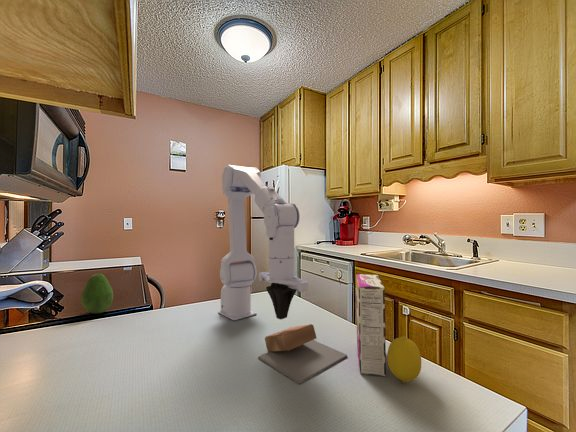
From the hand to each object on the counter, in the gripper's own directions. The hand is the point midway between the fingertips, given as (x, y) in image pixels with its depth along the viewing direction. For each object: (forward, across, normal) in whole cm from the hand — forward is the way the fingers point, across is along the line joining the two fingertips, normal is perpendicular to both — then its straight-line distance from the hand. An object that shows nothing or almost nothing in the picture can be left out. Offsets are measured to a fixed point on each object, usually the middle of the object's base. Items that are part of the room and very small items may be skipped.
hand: (281, 317), depth 62 cm
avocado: (+7, -54, -27) cm, 61 cm away
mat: (+6, +7, 0) cm, 9 cm away
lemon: (+7, +25, +7) cm, 26 cm away
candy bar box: (+7, +17, +9) cm, 20 cm away
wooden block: (+5, -1, 0) cm, 5 cm away
